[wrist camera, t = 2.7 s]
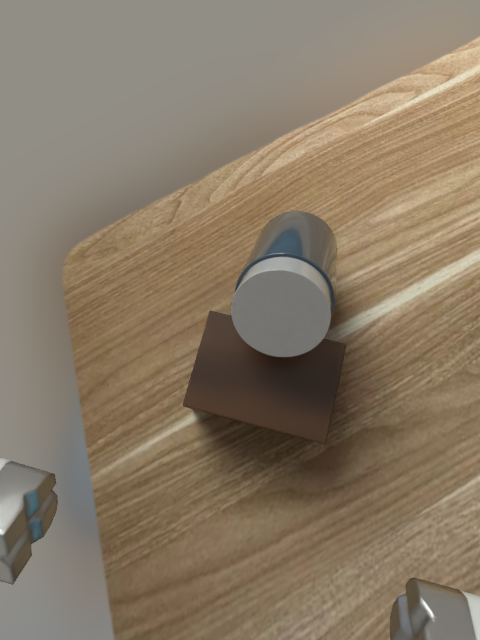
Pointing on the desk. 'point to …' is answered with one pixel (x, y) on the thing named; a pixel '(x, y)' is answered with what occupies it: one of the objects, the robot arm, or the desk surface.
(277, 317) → the jar
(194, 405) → the prop block
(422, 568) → the desk surface
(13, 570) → the robot arm
